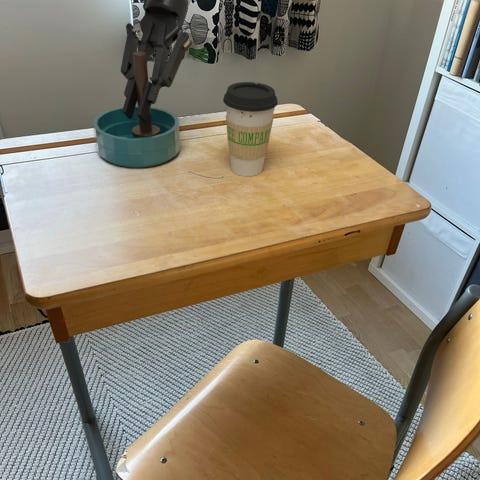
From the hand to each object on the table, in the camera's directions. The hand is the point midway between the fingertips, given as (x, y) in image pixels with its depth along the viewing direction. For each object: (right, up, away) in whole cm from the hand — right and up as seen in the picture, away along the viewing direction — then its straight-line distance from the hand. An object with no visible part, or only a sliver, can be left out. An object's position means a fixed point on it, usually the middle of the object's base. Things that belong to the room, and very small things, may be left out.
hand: (134, 116), depth 97 cm
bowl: (-1, -4, +8) cm, 9 cm away
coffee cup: (+21, -9, +4) cm, 23 cm away
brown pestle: (+1, -2, +6) cm, 7 cm away
